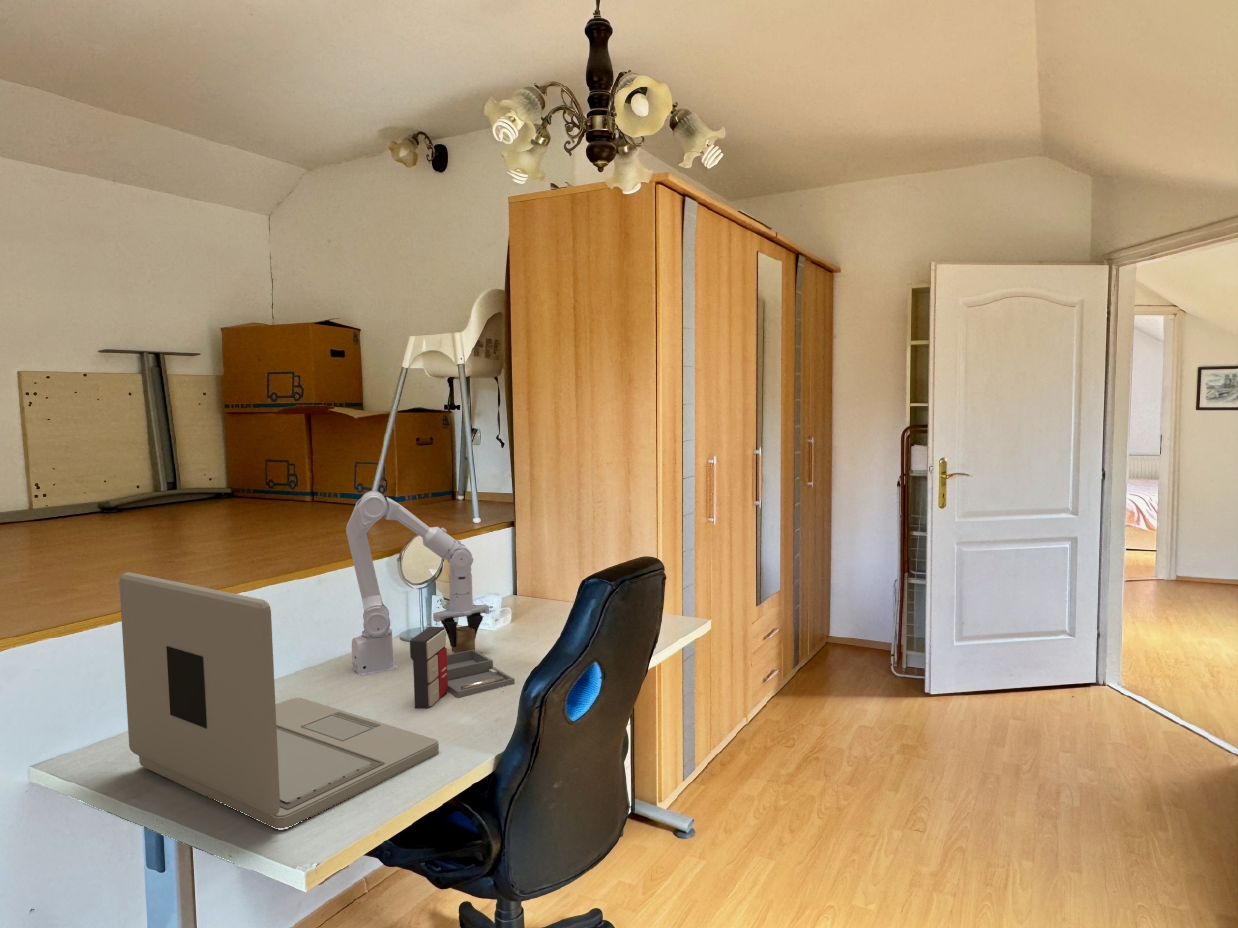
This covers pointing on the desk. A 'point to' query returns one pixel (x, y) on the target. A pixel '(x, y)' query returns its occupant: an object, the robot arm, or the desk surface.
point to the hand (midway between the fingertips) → (462, 644)
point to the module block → (464, 639)
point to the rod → (481, 683)
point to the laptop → (240, 709)
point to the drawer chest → (429, 666)
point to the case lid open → (455, 684)
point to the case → (467, 664)
